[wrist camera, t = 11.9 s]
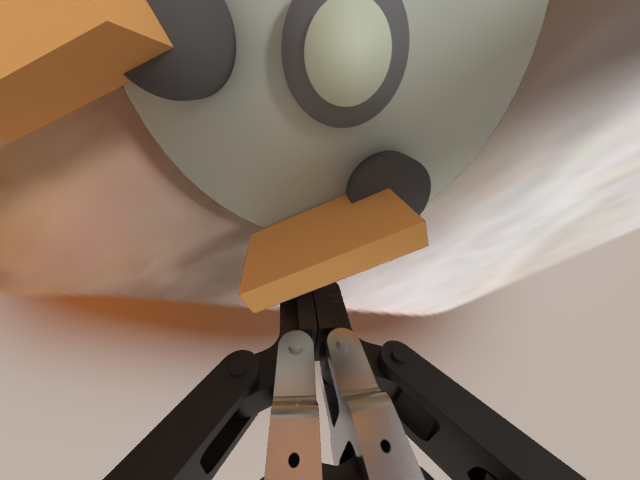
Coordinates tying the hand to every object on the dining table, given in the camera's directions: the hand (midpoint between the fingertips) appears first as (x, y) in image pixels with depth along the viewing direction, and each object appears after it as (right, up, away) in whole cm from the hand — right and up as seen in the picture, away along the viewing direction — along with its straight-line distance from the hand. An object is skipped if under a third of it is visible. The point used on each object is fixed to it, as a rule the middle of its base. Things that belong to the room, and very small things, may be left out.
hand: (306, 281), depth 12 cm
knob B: (+1, +4, 0) cm, 4 cm away
